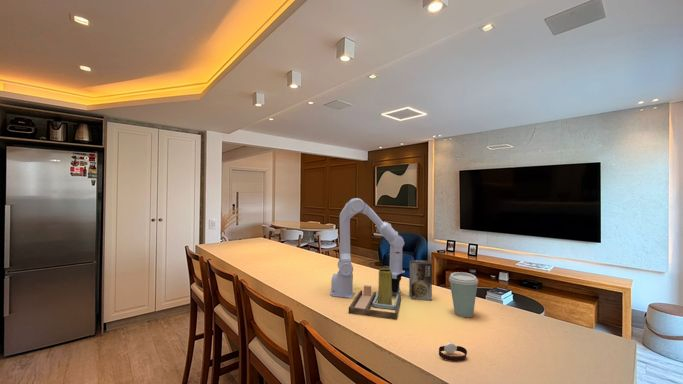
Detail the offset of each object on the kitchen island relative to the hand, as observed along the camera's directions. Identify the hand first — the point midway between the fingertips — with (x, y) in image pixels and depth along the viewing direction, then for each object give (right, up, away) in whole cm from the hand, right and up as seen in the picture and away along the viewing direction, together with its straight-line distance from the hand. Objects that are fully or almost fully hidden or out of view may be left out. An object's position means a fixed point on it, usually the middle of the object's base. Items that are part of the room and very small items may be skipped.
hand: (395, 290), depth 130 cm
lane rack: (-11, -1, -15) cm, 18 cm away
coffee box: (+10, -2, -3) cm, 11 cm away
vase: (-7, -1, -14) cm, 15 cm away
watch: (+6, -1, -52) cm, 52 cm away
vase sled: (-5, -1, -8) cm, 10 cm away
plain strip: (-16, -1, -14) cm, 21 cm away
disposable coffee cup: (+22, -2, -21) cm, 31 cm away
